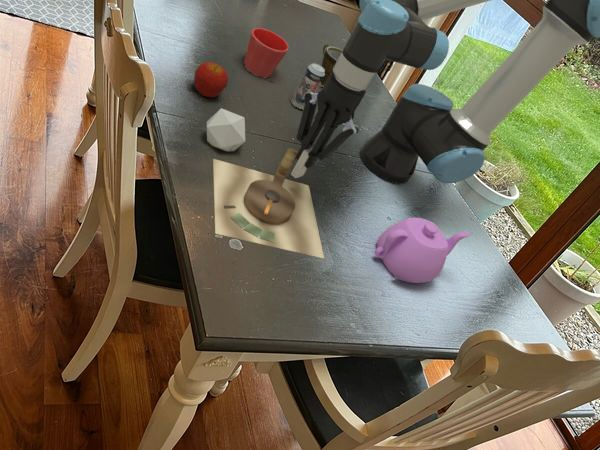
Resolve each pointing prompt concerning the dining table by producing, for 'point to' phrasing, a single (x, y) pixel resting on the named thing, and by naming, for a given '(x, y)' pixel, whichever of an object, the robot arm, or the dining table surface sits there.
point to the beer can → (308, 84)
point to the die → (226, 130)
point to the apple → (210, 79)
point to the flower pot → (264, 52)
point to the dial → (272, 194)
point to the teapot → (415, 249)
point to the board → (245, 226)
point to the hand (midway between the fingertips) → (296, 174)
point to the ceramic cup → (329, 60)
